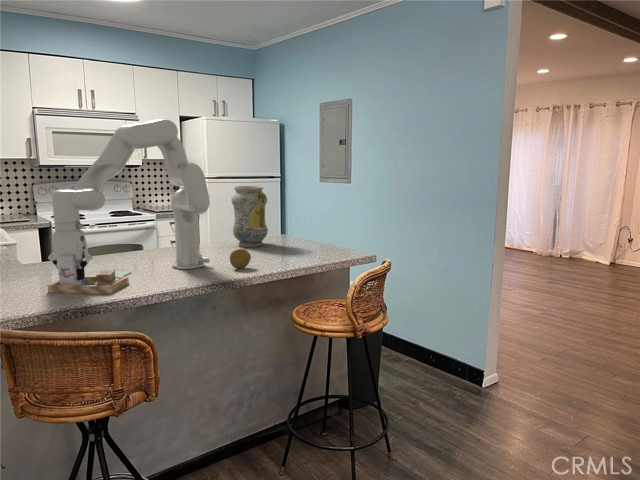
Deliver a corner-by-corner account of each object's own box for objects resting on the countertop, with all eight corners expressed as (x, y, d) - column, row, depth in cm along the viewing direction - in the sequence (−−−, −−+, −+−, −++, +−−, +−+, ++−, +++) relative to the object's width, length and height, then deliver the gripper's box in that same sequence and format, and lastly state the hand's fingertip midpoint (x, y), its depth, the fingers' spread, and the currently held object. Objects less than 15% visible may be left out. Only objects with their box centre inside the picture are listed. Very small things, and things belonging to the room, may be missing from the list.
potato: (227, 269, 186) (226, 250, 184) (237, 265, 193) (236, 246, 191) (242, 271, 183) (242, 251, 182) (252, 267, 190) (251, 248, 189)
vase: (251, 249, 226) (250, 188, 221) (225, 245, 236) (223, 186, 231) (274, 244, 241) (274, 186, 236) (248, 240, 251) (247, 185, 246)
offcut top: (115, 278, 160) (114, 270, 160) (111, 283, 155) (110, 274, 154) (101, 279, 160) (101, 270, 159) (97, 283, 154) (96, 275, 153)
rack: (128, 283, 164) (128, 276, 164) (110, 294, 151) (109, 286, 151) (71, 282, 165) (70, 275, 165) (48, 292, 153) (47, 285, 152)
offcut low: (120, 286, 161) (119, 278, 161) (109, 292, 154) (109, 283, 154) (106, 286, 162) (105, 278, 161) (95, 292, 155) (94, 283, 154)
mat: (131, 272, 180) (131, 271, 180) (113, 282, 166) (112, 280, 166) (101, 271, 181) (101, 270, 180) (80, 281, 167) (80, 280, 167)
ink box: (70, 284, 163) (67, 251, 161) (85, 284, 163) (82, 251, 161) (59, 291, 154) (56, 256, 152) (75, 290, 155) (72, 256, 153)
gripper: (98, 225, 158) (102, 277, 161) (50, 224, 159) (55, 276, 163) (85, 229, 151) (90, 282, 154) (35, 228, 152) (40, 281, 155)
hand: (72, 278), depth 158 cm, fingers closed on ink box, 5 cm apart
